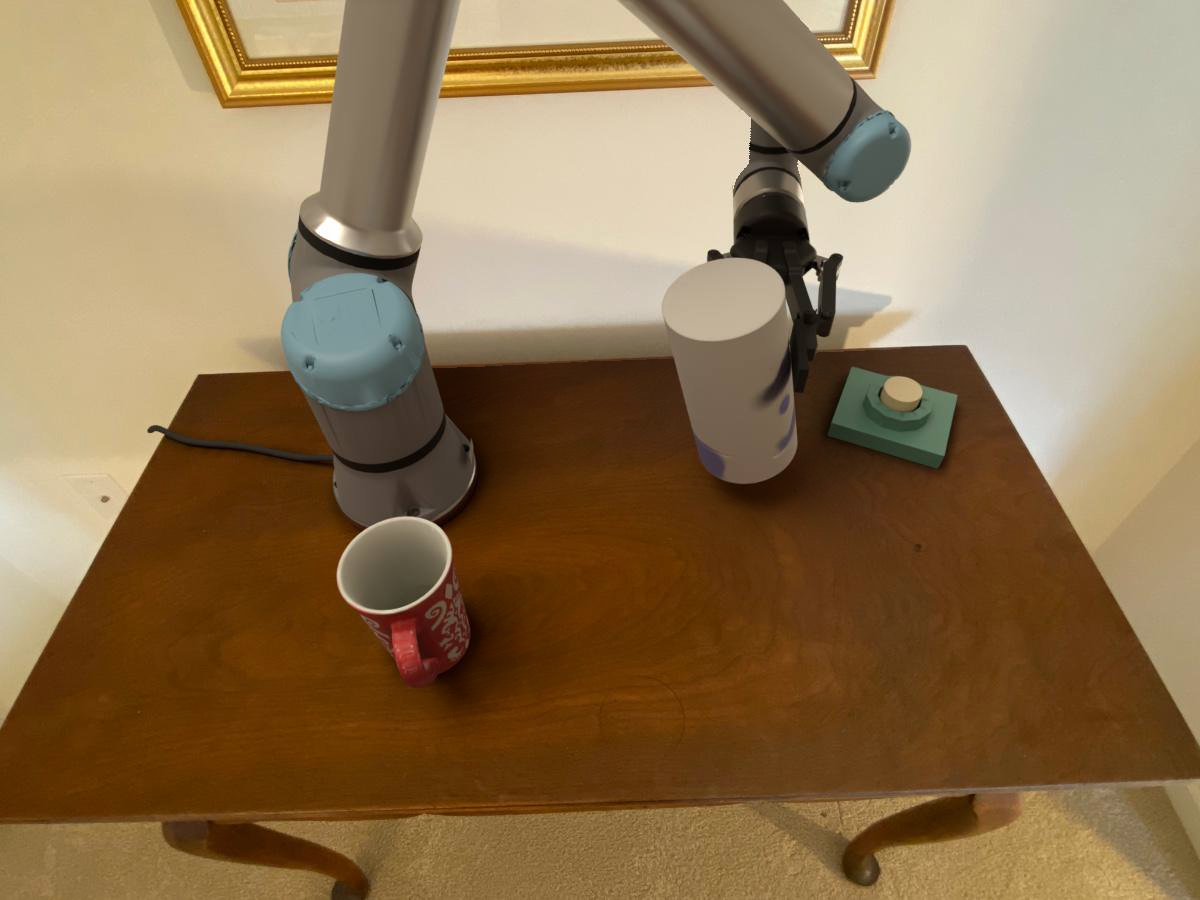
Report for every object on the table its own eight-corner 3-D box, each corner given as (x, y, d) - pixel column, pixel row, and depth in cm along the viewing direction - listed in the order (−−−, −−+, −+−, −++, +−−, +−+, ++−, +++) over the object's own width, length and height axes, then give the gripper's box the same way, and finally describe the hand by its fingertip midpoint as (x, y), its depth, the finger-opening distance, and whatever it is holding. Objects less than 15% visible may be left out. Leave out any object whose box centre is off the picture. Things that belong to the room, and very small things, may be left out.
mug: (381, 605, 68) (337, 526, 58) (475, 587, 69) (448, 506, 59) (382, 736, 60) (331, 671, 50) (488, 713, 61) (459, 644, 51)
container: (802, 479, 69) (791, 328, 54) (699, 489, 71) (660, 347, 56) (792, 402, 75) (778, 246, 60) (697, 414, 77) (661, 267, 62)
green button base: (827, 435, 81) (834, 411, 78) (847, 379, 86) (855, 354, 83) (937, 469, 77) (950, 445, 74) (951, 408, 83) (963, 383, 80)
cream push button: (876, 406, 78) (880, 395, 77) (884, 383, 81) (888, 372, 79) (914, 417, 77) (919, 406, 76) (920, 393, 80) (925, 382, 78)
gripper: (837, 257, 77) (866, 416, 62) (693, 253, 78) (687, 407, 63) (853, 193, 71) (890, 350, 56) (697, 190, 73) (692, 342, 57)
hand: (782, 380), depth 60 cm, fingers closed on container, 2 cm apart
